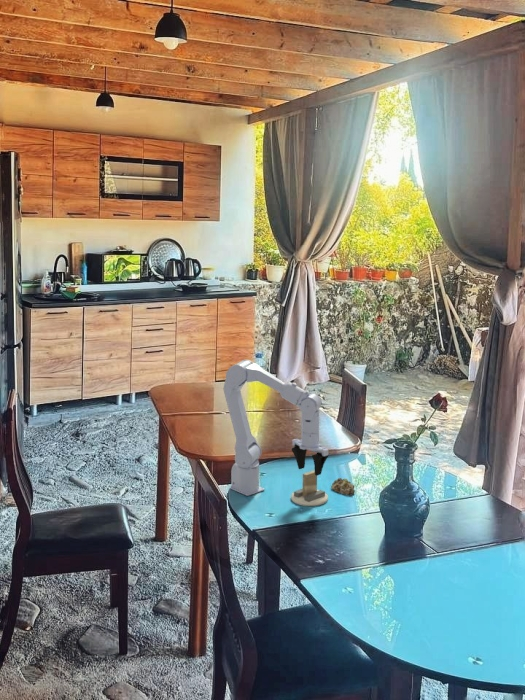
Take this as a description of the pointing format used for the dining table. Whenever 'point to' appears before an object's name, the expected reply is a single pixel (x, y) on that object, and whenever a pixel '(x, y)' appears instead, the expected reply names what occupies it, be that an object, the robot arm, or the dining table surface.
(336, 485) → the mineral rock
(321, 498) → the clip base
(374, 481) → the dining table surface
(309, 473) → the wooden block
